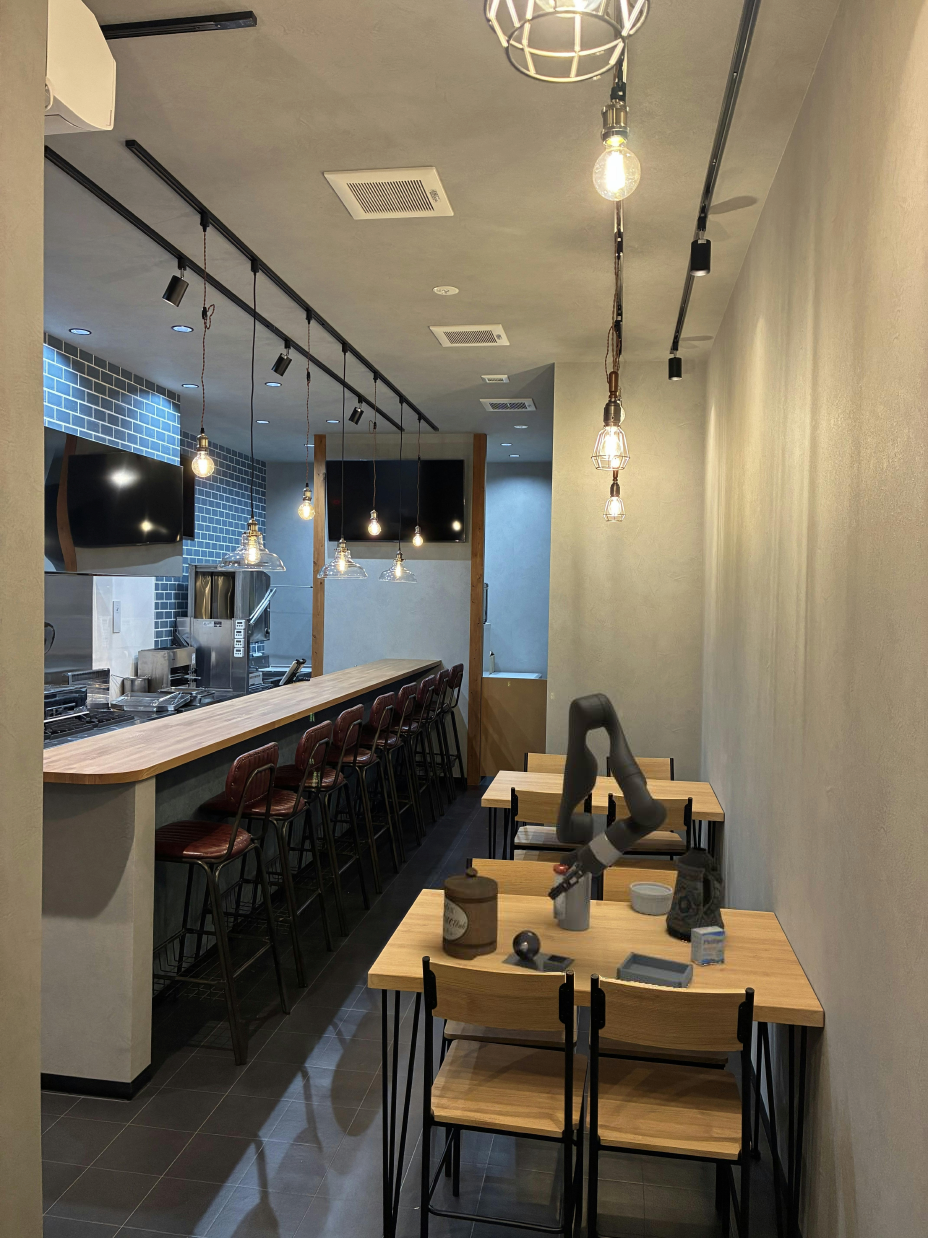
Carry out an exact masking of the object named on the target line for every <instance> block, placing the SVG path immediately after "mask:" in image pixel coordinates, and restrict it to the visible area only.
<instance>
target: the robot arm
mask: <svg viewBox="0 0 928 1238" xmlns="http://www.w3.org/2000/svg"><path fill="white" fill-rule="evenodd" d="M602 728H603V729H605V732H606V733H607V735H608V737H609V738H608V739H609V752H608V753H609V755H608V766H609V768H610V769H609V770H610V772H611V775H612V776H613V778H614V780H615V782H616V784H617V785H618V788H619V789H620V791H621V793H622V795H623V799H624V802H625V805H626V808H627V810H628V812H629V814H630V815H629V816H628V817H626V818H625V817H624V818H620V819H617V820H616V821H614V822H613V823H612V824H611V825H610V826H608V827H607V828H605V830H603V831H602V832H600V833H599V834H598V835H596V837H594V834H595V833H594V831H595V820H594V817H593V815H592V814H591V813H590V812H582V811H581V812H580V811H579V812H577V811H576V812H575V809H576V808H577V806H579V805H580V803H581V802H583V800H585V799H586V798H587V797H588V796H589V795H590V793H592V792H593V790H594V789H595V787H596V785H597V776H598V773H599V765H598V761H597V758H596V756H595V754H593V752H592V751H591V749H590V748H589V746H588V745H587V736H588V735H587V734H588V733H589V731H592V730H597V729H602ZM567 732H568V734H567V735H568V736H567V747H566V748H567V749H566V756H565V757H566V758H565V763H564V771H563V780H562V790H561V792H562V793H561V799H560V803H559V804H560V805H559V809H558V814H557V819H556V824H555V836H556V839H557V841H558V842H559V843H561V844H563V845H579V846H578V847H577V848H576V849H575V850H573V851H570V852H567V853H564V854H563V855H561V856H560V859H559V864H564V865H567V866H568V872H566V875H565V876H564V879H563V880H562V881H561V882H559V883H558V885H557V886H556V887H555V888H554V886H552V887H551V888H550V891H549V892H548V893H547V896H548V897H549V899H550V900H551V901H554V900H555V899H556V898H557V897H558V896H560V895H561V894H562V893H563V892H564V893H566V895H565V918H564V919H557V924H558V926H559V927H560V928H562V929H565V930H569V931H584V930H588V929H589V928H590V922H591V920H590V918H591V888H592V883H591V882H592V876H595V877H598V876H599V875H601V874H602V873H603V872H604V871H606V870H607V869H608V868H610V866H612V864H614V863H615V862H616V861H617V860H618V859H619V858H620V857H621V856H622V855H623V854H624V853H625V852H626V851H627V850H628V849H630V847H632V846H633V845H634V844H635V843H636V842H638V841H640V840H642V839H644V838H645V837H647V836H649V835H651V834H652V833H654V832H656V831H657V830H658V829H659V828H660V827H662V825H663V824H664V823H665V821H666V819H667V816H668V812H667V807H666V806H665V805H664V803H663V802H662V801H660V800H658V799H655V798H654V797H653V796H652V795H651V793H650V791H649V789H648V781H647V777H646V776H645V774H644V773H643V771H642V769H641V767H640V766H639V764H638V763H637V761H636V759H635V757H634V755H633V753H632V751H631V748H630V746H629V744H628V741H627V737H626V736H625V733H624V729H623V727H622V725H621V722H620V720H619V717H618V714H617V711H616V709H615V708H614V705H613V703H612V701H611V700H610V698H609V697H608V696H607V695H606V694H605V693H602V692H601V693H600V692H598V693H594V694H593V693H592V694H588V695H585V696H580V697H577V698H574V699H573V700H572V701H571V702H570V705H569V709H568V731H567ZM563 884H565V885H566V887H565V886H564V885H563Z"/></svg>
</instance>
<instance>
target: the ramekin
mask: <svg viewBox="0 0 928 1238" xmlns="http://www.w3.org/2000/svg"><path fill="white" fill-rule="evenodd" d="M629 891H630V901H631V902H630V903H631V907H632V908H633V910H634V911H636V912H637V911H638V913H641V914H643V913H644V914H643V915H648V914H651V915H650V916H662V915H665V914H668V913H669V911H670V908H671V904H672V900H673V895H674V890H673V888H672V887H670V886H668V885H665V884H663V883H658V882H651V881H640V882H638V881H637V882H634V883H631V884H630V885H629Z"/></svg>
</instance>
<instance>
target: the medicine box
mask: <svg viewBox="0 0 928 1238" xmlns="http://www.w3.org/2000/svg"><path fill="white" fill-rule="evenodd" d="M725 943H726V931H725V929H724V930H723V929H721V928H719V927H717V926H710V927H703V928H695V929H691V943H690V961H691V960H693V961H694V962H693V961H692V962H693V963H695V962H697V963H698V964H700V965H704V964H710V963H718V964H720V963H719V962H723V963H725V951H726V950H725V947H726V945H725ZM697 963H696V964H697ZM698 964H697V965H698ZM700 965H699V966H700Z"/></svg>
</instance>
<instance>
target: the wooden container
mask: <svg viewBox="0 0 928 1238" xmlns="http://www.w3.org/2000/svg"><path fill="white" fill-rule="evenodd" d="M478 873H479V871H478V870H477V869H476V868H475V867H472V866H470V867H468V868H467V869H466V870H465V875H463V874H462V875H455V876H451V877H448V878H447V879H445V880H444V883H443V884H444V885H443V893H444V894H443V895H444V896H443V913H442V951H443V952H444V953H445V954H446V955H448V956H449V957H452V958H456V959H460V960H470V961H473V960H475V959H477V958H478V957H483V956H488V955H490V954H493V953H495V952H496V950H498V931H499V929H498V928H499V925H498V923H499V922H498V918H499V916H498V912H499V911H498V910H499V909H498V908H499V907H498V905H499V904H498V903H499V902H498V901H499V900H498V899H499V898H498V895H499V882H497V880H495V879H494V878H491V877H489V876H488V877H487V876H482V875H479V874H478Z"/></svg>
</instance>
